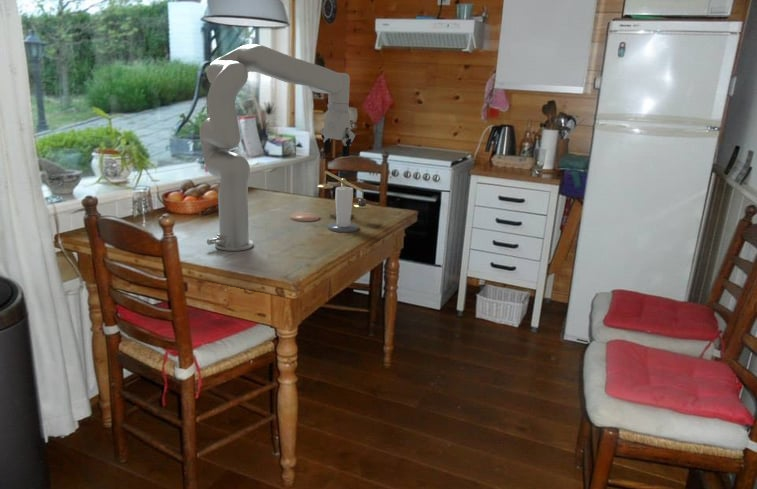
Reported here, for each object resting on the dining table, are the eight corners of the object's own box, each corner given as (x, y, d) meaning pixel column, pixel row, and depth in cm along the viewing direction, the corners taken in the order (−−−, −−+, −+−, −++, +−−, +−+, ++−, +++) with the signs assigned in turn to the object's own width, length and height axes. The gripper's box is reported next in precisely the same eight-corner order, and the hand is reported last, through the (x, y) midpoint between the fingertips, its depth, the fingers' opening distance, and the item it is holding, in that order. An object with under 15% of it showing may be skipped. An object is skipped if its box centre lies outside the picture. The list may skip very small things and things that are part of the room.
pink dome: (303, 223, 221) (303, 220, 221) (284, 217, 228) (284, 215, 228) (325, 218, 230) (325, 216, 230) (305, 212, 237) (305, 210, 237)
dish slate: (343, 234, 209) (343, 231, 209) (321, 227, 216) (321, 225, 216) (364, 228, 218) (364, 226, 218) (342, 222, 225) (342, 220, 225)
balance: (360, 226, 222) (362, 181, 216) (312, 212, 239) (312, 170, 234) (374, 222, 227) (376, 179, 222) (325, 209, 245) (326, 168, 240)
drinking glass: (349, 229, 213) (350, 190, 208) (332, 227, 214) (333, 189, 209) (353, 224, 219) (355, 187, 215) (337, 223, 220) (338, 185, 216)
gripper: (314, 106, 206) (313, 152, 211) (348, 109, 195) (345, 158, 200) (329, 106, 211) (327, 151, 216) (362, 109, 201) (359, 157, 206)
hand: (336, 154), depth 208 cm, fingers open, 9 cm apart
